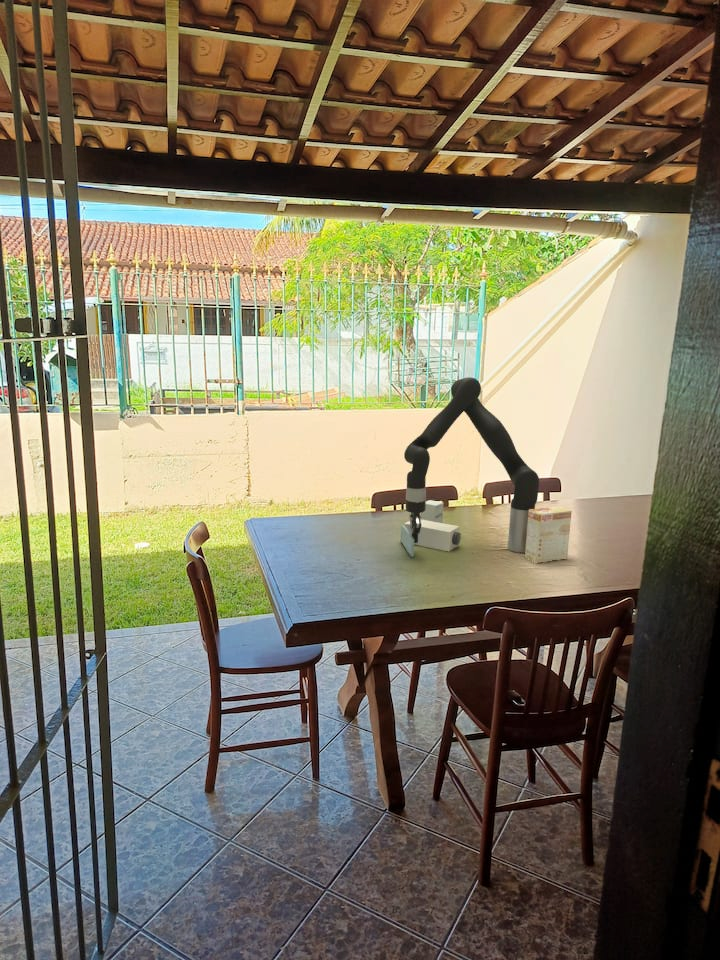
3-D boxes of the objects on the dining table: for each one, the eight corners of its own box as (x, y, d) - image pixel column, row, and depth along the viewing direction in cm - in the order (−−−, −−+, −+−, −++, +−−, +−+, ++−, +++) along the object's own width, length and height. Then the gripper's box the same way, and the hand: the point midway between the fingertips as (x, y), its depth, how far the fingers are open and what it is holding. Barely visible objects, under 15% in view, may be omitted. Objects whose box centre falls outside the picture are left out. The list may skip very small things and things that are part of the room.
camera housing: (461, 546, 251) (463, 525, 249) (452, 552, 243) (453, 530, 241) (414, 536, 262) (415, 516, 260) (403, 542, 255) (404, 521, 253)
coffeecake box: (555, 553, 244) (560, 505, 240) (567, 559, 238) (572, 510, 234) (523, 557, 239) (527, 508, 235) (535, 564, 233) (539, 513, 228)
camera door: (413, 556, 236) (414, 538, 234) (410, 556, 236) (411, 538, 234) (403, 540, 254) (404, 523, 253) (400, 540, 254) (401, 523, 253)
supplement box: (434, 534, 266) (435, 505, 263) (419, 530, 270) (420, 502, 268) (442, 530, 272) (444, 502, 269) (428, 527, 276) (429, 499, 273)
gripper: (403, 494, 241) (402, 537, 245) (408, 503, 228) (407, 548, 232) (422, 494, 242) (421, 536, 246) (428, 502, 229) (427, 547, 233)
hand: (414, 542), depth 239 cm, fingers closed
